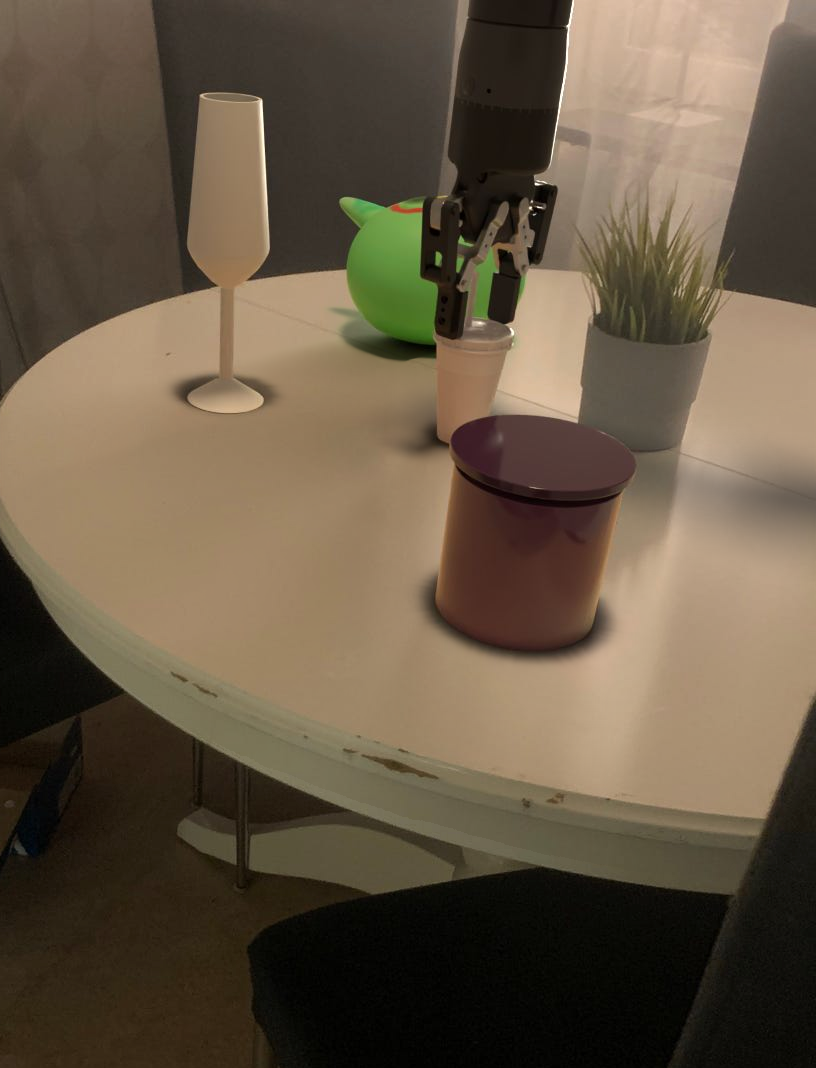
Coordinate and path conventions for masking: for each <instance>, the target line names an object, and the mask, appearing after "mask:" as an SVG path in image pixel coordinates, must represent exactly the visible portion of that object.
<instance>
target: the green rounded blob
mask: <svg viewBox="0 0 816 1068" xmlns="http://www.w3.org/2000/svg"><path fill="white" fill-rule="evenodd" d="M447 196H448V195H438V196H436V197H437V198H444V197H447ZM426 197H427V196H417V197H413V198H412V197H411V198H409V199H407V200H404V201H401V202H397V203H395V204H393V205H390V206H387V207H384V206H381V205H378V204H376V203H372V202H369V201H366V200H363V199H360V198H356V197H350V196H344V197H342V198H340V199H339V201H338V204H339V206H340V208H341V209H342V211H343V212H344V213H345V214H346V215H347V216H348V217H349V218H350V219H351V220H352V222H353V223H354V224H355V225H356V226H357V227H358V228H359V230H358V231H357V233H356V234H355V236H354V239H353V240H352V243H351V245H350V247H349V251H348V255H347V259H346V271H345V272H346V282H347V287H348V291H349V294H350V298H351V299H352V302H353V304H354V306H355V308H356V309H357V310H358V312H359V314H360V315H361V316H362V317H363V318H364V320H366V321H367V323H369V324H370V326H372V327H374V329H376V330H378V331H380V332H382V333H383V334H385V335H387V336H390V337H391V338H395V339H398V340H400V341H403V342H407V343H412V344H417V345H424V346H437V343H436V342H435V341H434V339H433V334H434V328H435V325H434V320H435V316H436V315H435V312H436V303H437V295H438V287H437V285H436V284H435V283H433V282H430V281H428V280H424V279H422V278H421V276H420V261H421V235H422V209H423V202H424V200H425V198H426ZM458 243H459V244H462V245H466V246H473V244H470V243H466V242H464V239H463V238H462V236H460V238H459V241H458ZM509 252H510V251H508V253H509ZM441 258H442V255H441V254H440V253H439V252H436V263H435V265H437V266H438V265H439V263H440V260H441ZM463 261H464V259H463V258H458V259H457V267H456V272H458V273H459V271H460V268H461V266H462V263H463ZM475 271H478V272H479V275H478V283H477V290H476V298H475V305H474V313H473V317H478V318H485V319H489V318H488V315H487V312H488V305H489V298H490V291H491V284H492V278H493V272H497V271H499V269H497V268H496V267H495V261H494V254H493V249H492V247H490V250H489V252H488V255H487V257H486V259H485V261H484V262H483V263H481V264H479V265H477V267H476V269H475ZM527 275H528V272H527V273H526V275H525V276H522V278H521V284H520V290H519V295H518V300H517V301H518V302H517V306H518V305H519V303H520V302H521V299H522V297H523V294H524V291H525V288H526V283H527ZM469 289H470V284H469V286H468V288H467V290H466V291H469ZM468 297H469V292H468ZM467 304H468V299H467ZM466 312H467V307H466ZM465 317H466V314H465Z"/></svg>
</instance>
